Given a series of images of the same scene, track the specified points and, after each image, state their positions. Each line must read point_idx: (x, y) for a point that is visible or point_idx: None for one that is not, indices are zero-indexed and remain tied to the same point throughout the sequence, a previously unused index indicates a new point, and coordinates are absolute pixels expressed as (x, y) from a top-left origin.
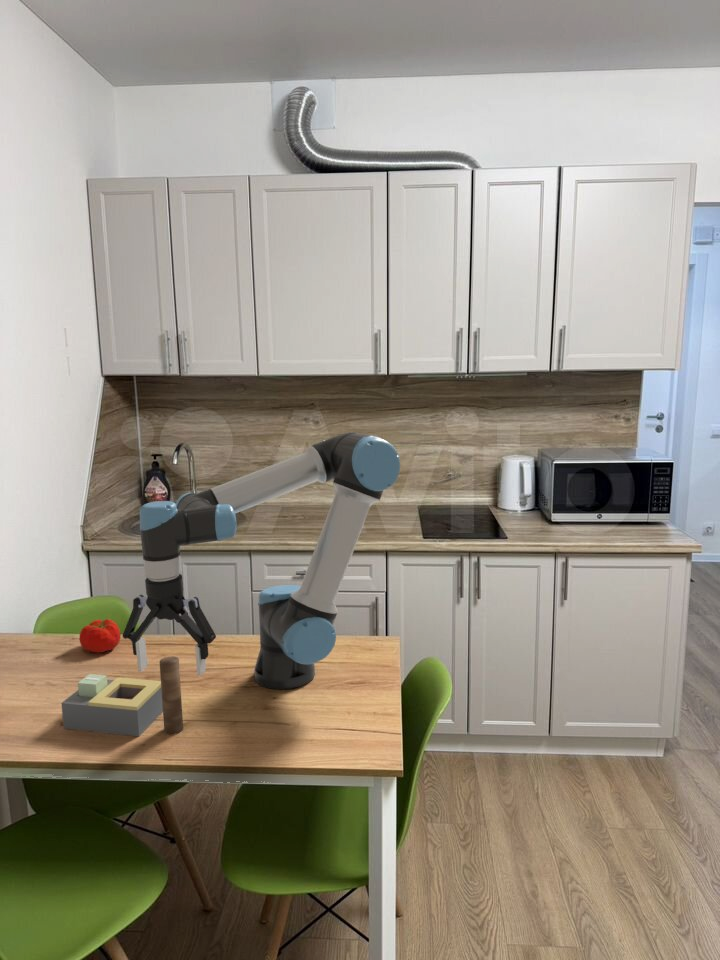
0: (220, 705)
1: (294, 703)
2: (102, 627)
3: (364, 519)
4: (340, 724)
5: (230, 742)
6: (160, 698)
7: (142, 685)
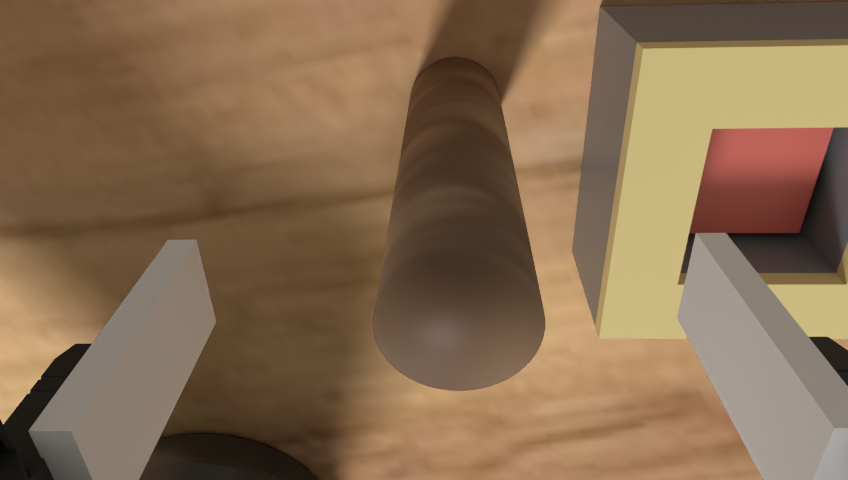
0: (348, 310)
1: None
2: None
3: None
4: None
5: (132, 47)
6: (589, 257)
7: None
